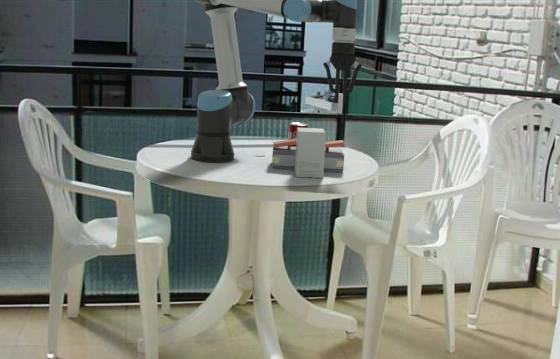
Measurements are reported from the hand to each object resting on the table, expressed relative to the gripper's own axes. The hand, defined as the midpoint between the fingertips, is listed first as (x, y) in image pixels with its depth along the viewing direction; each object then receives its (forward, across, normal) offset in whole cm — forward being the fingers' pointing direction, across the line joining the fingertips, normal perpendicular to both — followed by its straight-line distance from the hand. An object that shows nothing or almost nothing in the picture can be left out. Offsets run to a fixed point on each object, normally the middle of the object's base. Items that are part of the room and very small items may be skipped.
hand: (339, 113), depth 231 cm
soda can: (+19, -14, +20) cm, 30 cm away
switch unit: (+19, -10, +1) cm, 22 cm away
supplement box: (+20, -10, -11) cm, 24 cm away
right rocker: (+11, -4, +1) cm, 12 cm away
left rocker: (+11, -16, 0) cm, 20 cm away
